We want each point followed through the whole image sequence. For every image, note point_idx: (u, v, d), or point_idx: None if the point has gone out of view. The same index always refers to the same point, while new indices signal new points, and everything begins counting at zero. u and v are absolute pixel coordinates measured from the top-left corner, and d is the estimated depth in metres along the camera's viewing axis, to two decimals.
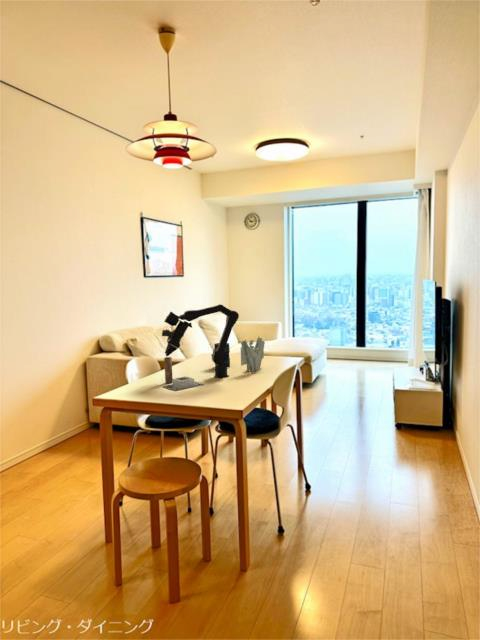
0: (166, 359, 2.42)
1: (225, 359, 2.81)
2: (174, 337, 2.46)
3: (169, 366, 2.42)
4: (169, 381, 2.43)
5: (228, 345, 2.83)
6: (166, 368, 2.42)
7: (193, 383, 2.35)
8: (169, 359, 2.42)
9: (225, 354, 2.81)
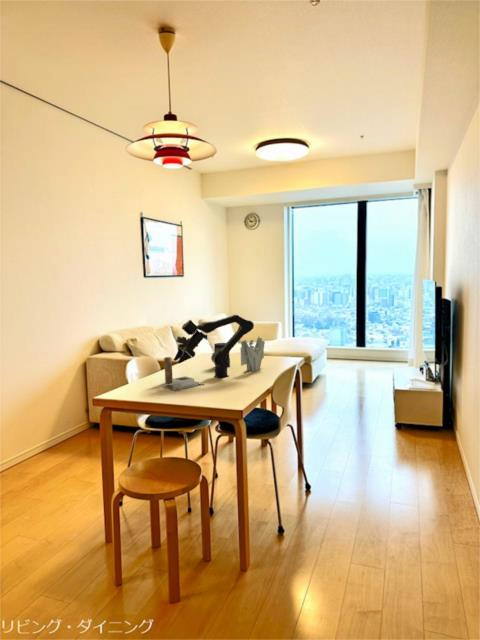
0: (166, 359, 2.42)
1: (225, 359, 2.81)
2: (189, 346, 2.45)
3: (169, 366, 2.42)
4: (169, 381, 2.43)
5: None
6: (166, 368, 2.42)
7: (193, 383, 2.35)
8: (169, 359, 2.42)
9: None
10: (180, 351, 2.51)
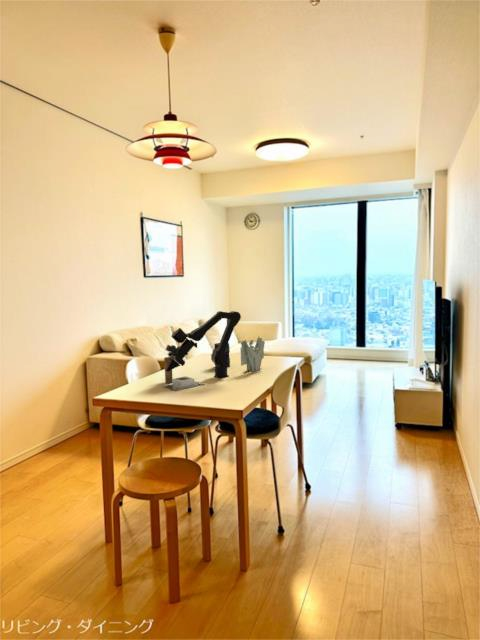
0: (166, 359, 2.42)
1: (225, 359, 2.81)
2: (178, 354, 2.43)
3: None
4: (169, 381, 2.43)
5: (228, 345, 2.83)
6: (166, 368, 2.42)
7: (193, 383, 2.35)
8: (169, 359, 2.42)
9: (225, 354, 2.81)
10: None
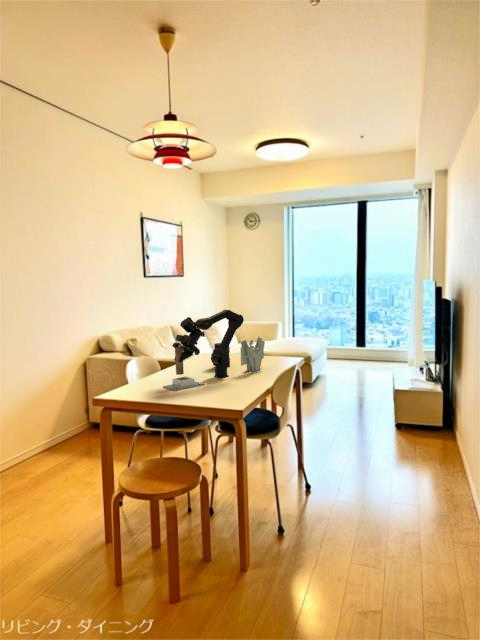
0: (178, 349, 2.33)
1: None
2: (190, 344, 2.37)
3: None
4: (181, 372, 2.35)
5: None
6: (178, 359, 2.34)
7: (193, 383, 2.35)
8: (181, 349, 2.34)
9: None
10: None
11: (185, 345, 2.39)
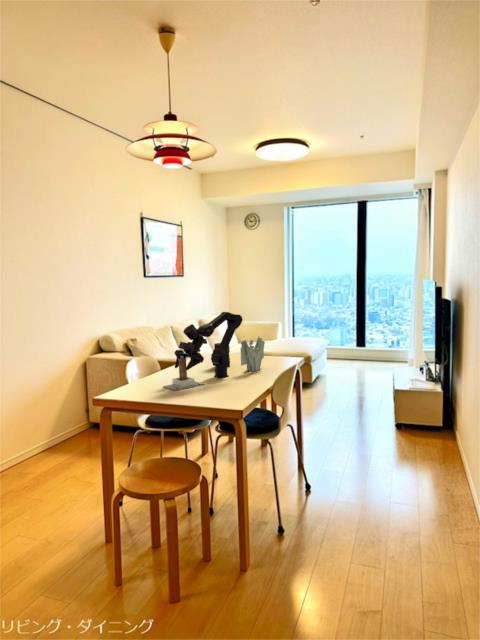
0: (182, 360, 2.33)
1: None
2: (193, 351, 2.36)
3: (185, 367, 2.34)
4: None
5: None
6: (182, 370, 2.33)
7: (193, 383, 2.35)
8: (185, 360, 2.33)
9: None
10: (180, 357, 2.40)
11: (188, 352, 2.38)
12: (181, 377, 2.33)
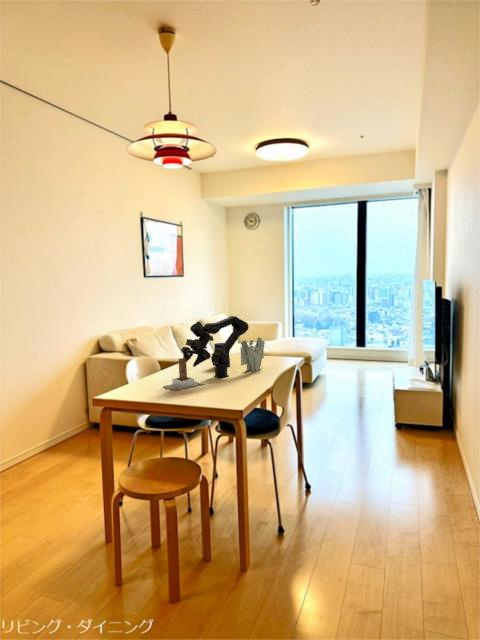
0: (182, 360, 2.33)
1: None
2: (200, 348, 2.40)
3: (185, 367, 2.34)
4: None
5: None
6: (182, 369, 2.33)
7: (193, 383, 2.35)
8: (185, 360, 2.34)
9: None
10: (186, 354, 2.43)
11: (195, 349, 2.42)
12: (181, 377, 2.33)
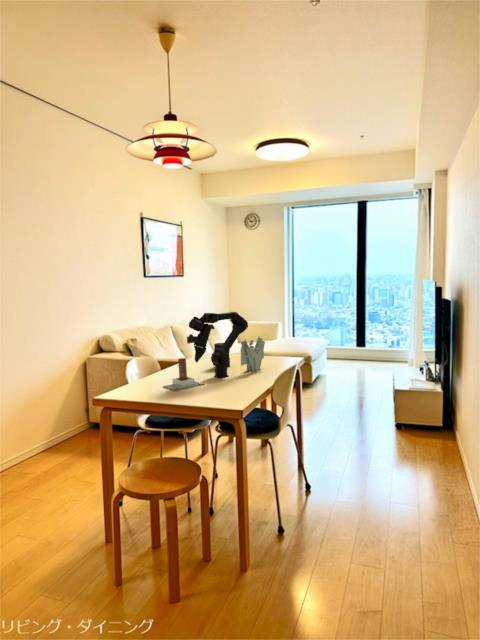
0: (182, 360, 2.32)
1: None
2: (199, 341, 2.42)
3: (185, 367, 2.33)
4: None
5: None
6: (182, 370, 2.33)
7: (193, 383, 2.35)
8: (185, 360, 2.33)
9: None
10: None
11: None
12: (181, 377, 2.33)
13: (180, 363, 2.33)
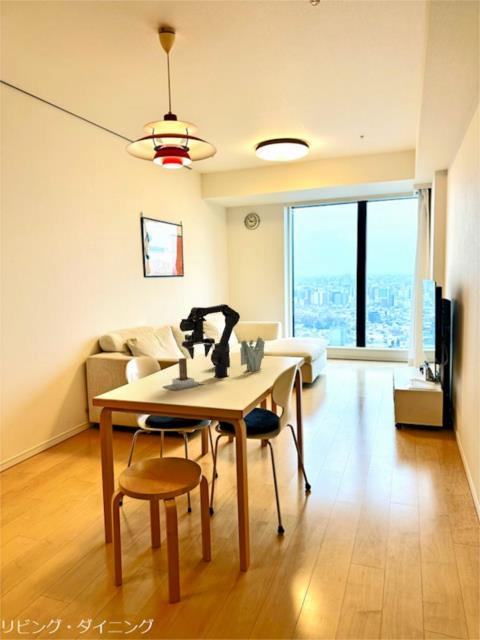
0: (183, 360, 2.32)
1: None
2: (193, 338, 2.43)
3: (185, 367, 2.33)
4: None
5: (228, 345, 2.83)
6: (182, 370, 2.33)
7: (193, 383, 2.35)
8: (185, 360, 2.33)
9: None
10: (205, 346, 2.48)
11: None
12: (181, 377, 2.33)
13: (181, 363, 2.32)
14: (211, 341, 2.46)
